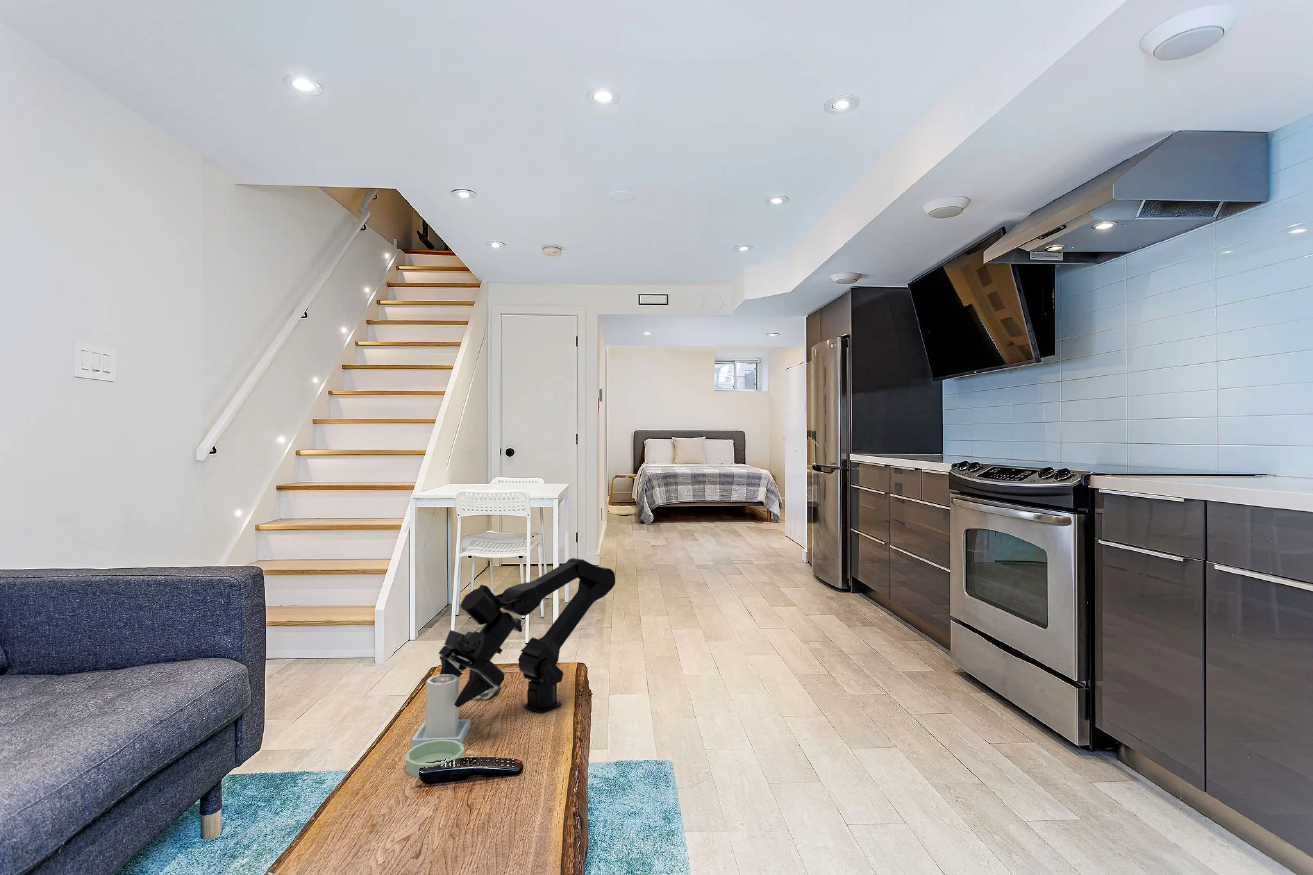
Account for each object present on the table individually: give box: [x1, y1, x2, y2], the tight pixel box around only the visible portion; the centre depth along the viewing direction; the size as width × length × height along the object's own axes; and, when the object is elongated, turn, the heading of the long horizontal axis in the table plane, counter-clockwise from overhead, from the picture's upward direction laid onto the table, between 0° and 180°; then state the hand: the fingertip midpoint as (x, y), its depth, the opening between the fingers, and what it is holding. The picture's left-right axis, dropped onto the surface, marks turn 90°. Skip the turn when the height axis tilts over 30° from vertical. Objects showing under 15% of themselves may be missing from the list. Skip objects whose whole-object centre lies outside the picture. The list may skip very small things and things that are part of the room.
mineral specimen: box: [470, 685, 502, 702], centre depth 162 cm, size 15×8×4 cm, turn 6°
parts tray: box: [410, 718, 472, 749], centre depth 134 cm, size 10×10×2 cm
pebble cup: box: [425, 674, 460, 738], centre depth 134 cm, size 6×6×12 cm
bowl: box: [405, 740, 465, 778], centre depth 123 cm, size 10×10×3 cm
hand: (444, 700), depth 135 cm, fingers open, 9 cm apart
